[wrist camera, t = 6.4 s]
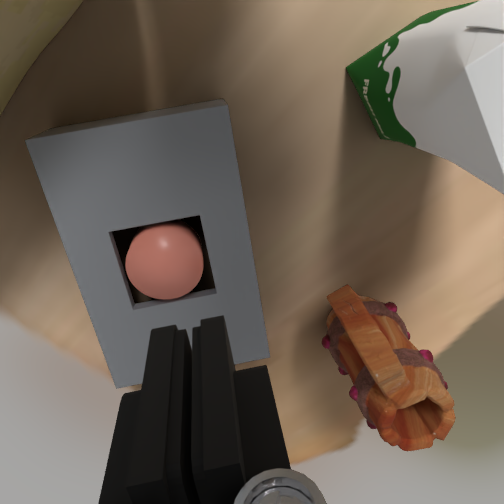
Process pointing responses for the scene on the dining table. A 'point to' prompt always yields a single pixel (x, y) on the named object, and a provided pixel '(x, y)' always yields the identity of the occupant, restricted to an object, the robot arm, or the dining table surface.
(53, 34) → the cheese
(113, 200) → the box
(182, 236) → the call button
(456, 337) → the dining table surface
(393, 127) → the milk carton
